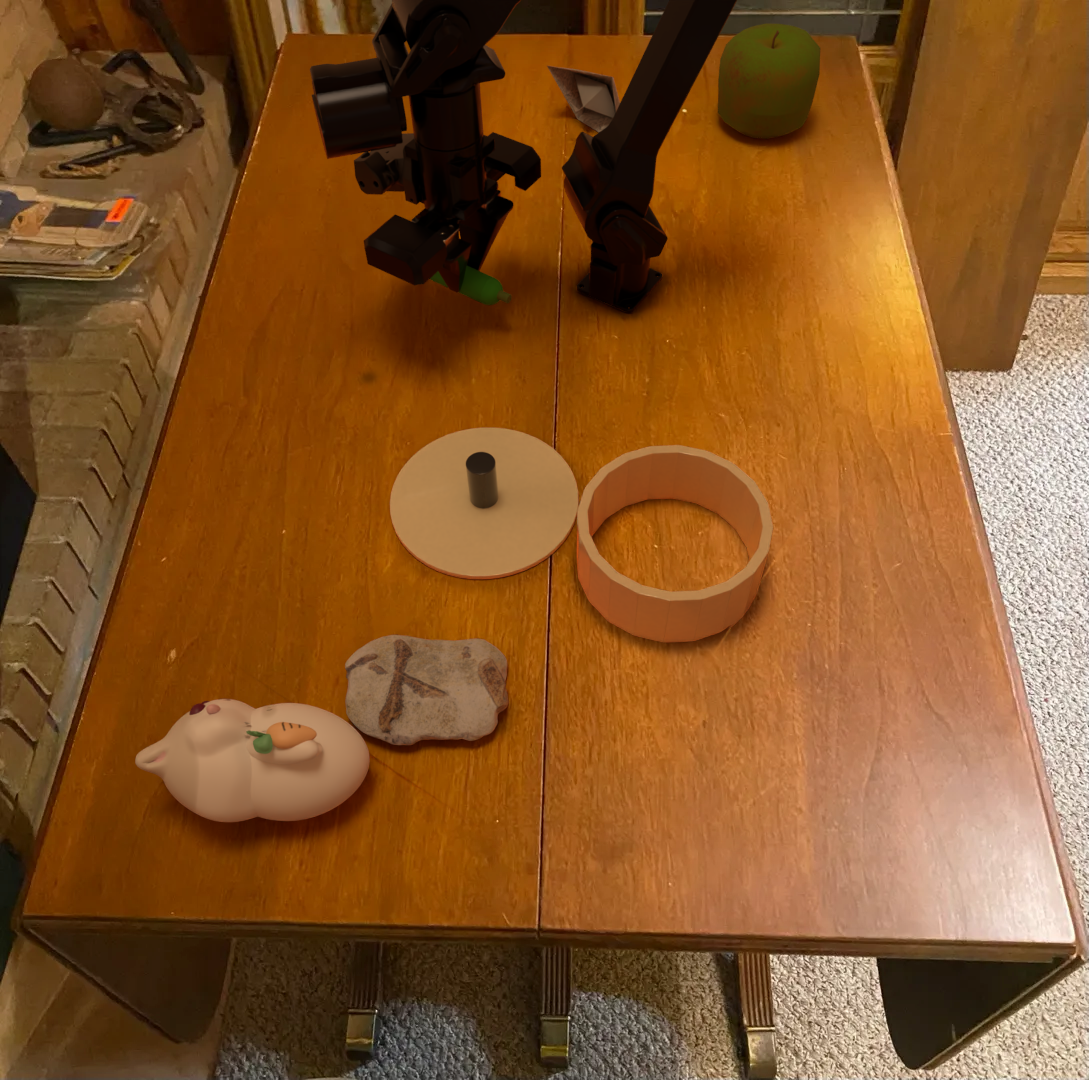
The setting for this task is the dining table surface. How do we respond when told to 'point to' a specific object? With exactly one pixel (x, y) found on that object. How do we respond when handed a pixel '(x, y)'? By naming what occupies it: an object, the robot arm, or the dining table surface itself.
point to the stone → (426, 689)
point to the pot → (685, 480)
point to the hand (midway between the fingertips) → (463, 281)
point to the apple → (768, 80)
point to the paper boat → (588, 95)
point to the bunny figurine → (258, 761)
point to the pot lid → (484, 503)
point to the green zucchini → (479, 287)
